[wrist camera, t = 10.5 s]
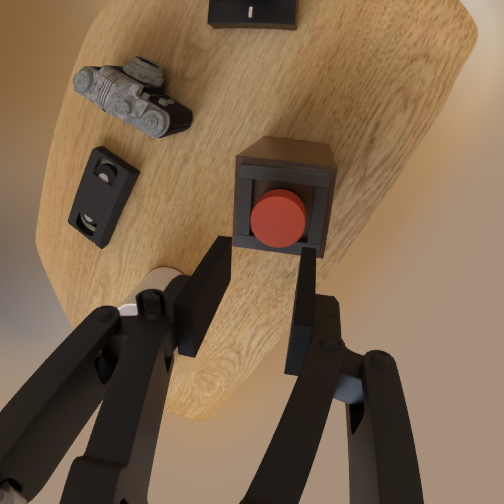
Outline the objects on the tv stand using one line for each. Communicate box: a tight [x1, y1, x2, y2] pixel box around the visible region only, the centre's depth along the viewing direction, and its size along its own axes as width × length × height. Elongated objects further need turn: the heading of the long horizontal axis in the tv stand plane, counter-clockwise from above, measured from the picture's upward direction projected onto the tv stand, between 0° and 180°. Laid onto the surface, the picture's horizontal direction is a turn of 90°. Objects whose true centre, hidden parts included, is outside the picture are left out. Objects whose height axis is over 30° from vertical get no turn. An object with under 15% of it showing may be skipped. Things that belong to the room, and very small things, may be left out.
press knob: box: [250, 189, 306, 248], centre depth 24 cm, size 4×4×2 cm
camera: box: [73, 56, 193, 139], centre depth 33 cm, size 15×7×10 cm, turn 56°
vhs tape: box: [68, 146, 140, 249], centre depth 45 cm, size 14×8×2 cm, turn 147°
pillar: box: [232, 137, 337, 258], centre depth 33 cm, size 8×8×16 cm
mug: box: [118, 267, 183, 316], centre depth 47 cm, size 9×12×11 cm
